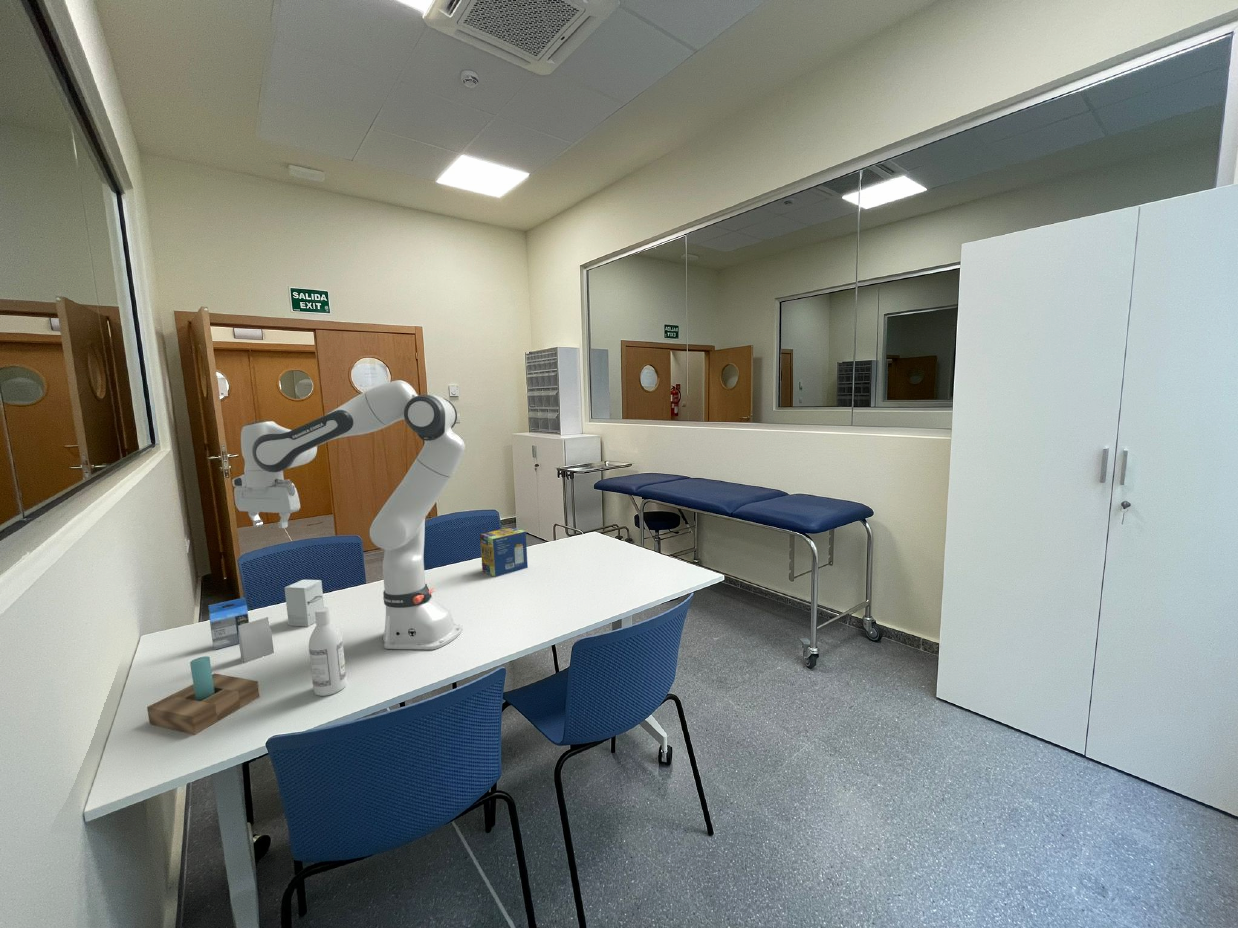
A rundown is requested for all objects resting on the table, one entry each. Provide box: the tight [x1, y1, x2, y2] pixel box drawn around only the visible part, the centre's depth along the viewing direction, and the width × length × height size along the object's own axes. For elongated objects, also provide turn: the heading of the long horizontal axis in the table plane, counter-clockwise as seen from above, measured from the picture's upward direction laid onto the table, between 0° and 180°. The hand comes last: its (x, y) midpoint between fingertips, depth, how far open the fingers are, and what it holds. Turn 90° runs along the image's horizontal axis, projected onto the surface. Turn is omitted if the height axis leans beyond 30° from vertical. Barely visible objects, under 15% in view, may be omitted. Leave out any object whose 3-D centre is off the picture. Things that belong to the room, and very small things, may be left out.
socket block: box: [146, 673, 260, 735], centre depth 115 cm, size 14×14×4 cm
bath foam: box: [308, 606, 348, 697], centre depth 121 cm, size 7×7×20 cm
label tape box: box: [208, 597, 250, 650], centre depth 147 cm, size 9×4×12 cm, turn 128°
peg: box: [189, 655, 215, 701], centre depth 114 cm, size 3×3×12 cm
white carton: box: [238, 616, 275, 664], centre depth 139 cm, size 4×7×10 cm, turn 139°
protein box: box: [479, 526, 528, 578], centre depth 204 cm, size 10×15×16 cm
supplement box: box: [284, 579, 325, 628], centre depth 161 cm, size 7×7×13 cm
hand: (270, 527), depth 144 cm, fingers open, 8 cm apart
